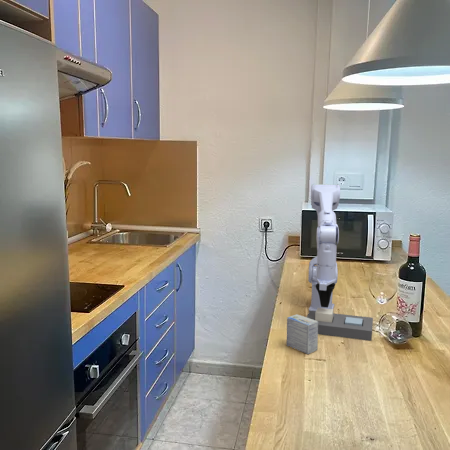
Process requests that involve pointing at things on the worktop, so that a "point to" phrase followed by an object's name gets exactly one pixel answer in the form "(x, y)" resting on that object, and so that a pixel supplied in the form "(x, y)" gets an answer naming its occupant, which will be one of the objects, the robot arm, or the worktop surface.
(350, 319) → the blue key
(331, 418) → the worktop surface
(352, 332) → the grey flat rectangular block
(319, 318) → the cream key
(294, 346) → the medicine box
